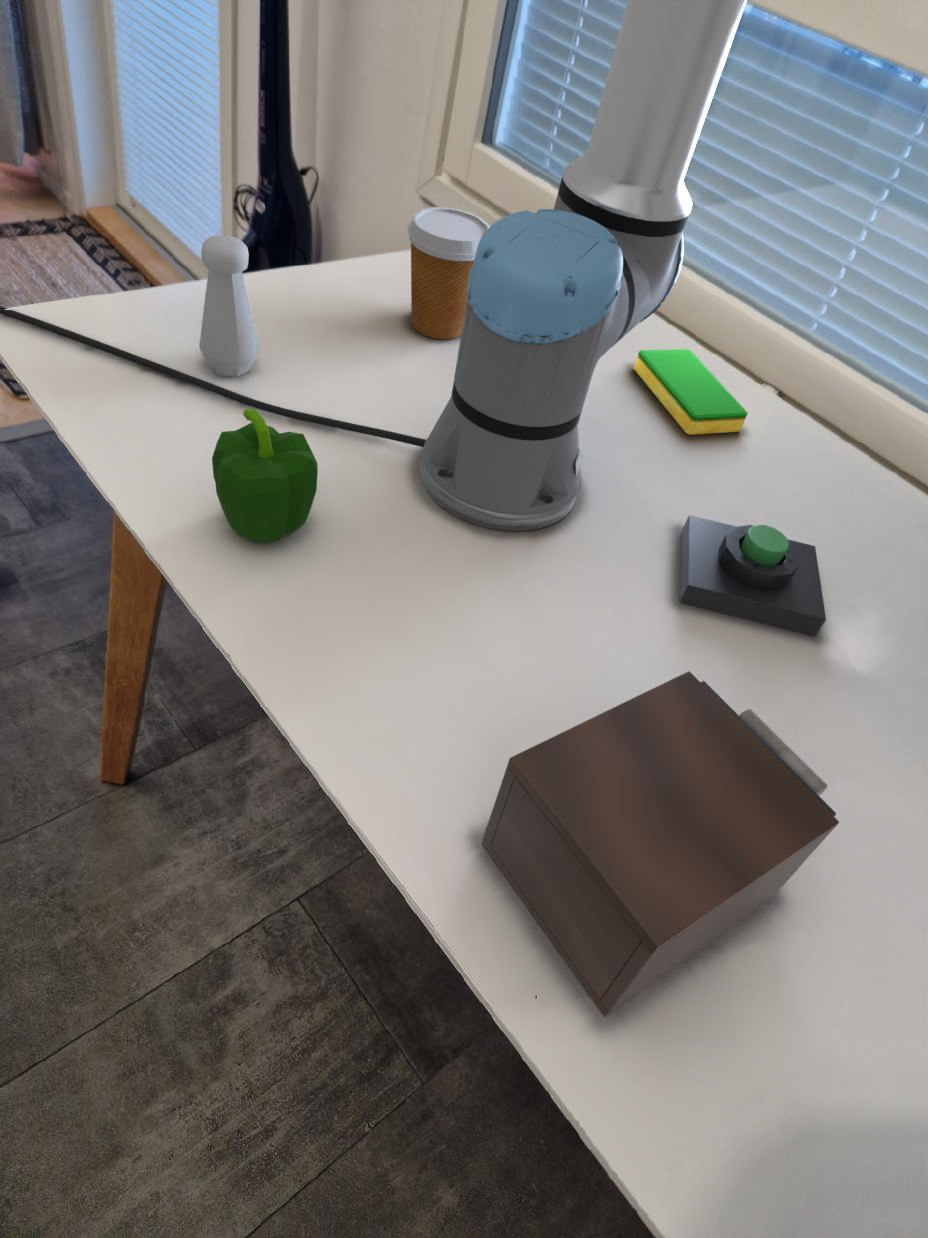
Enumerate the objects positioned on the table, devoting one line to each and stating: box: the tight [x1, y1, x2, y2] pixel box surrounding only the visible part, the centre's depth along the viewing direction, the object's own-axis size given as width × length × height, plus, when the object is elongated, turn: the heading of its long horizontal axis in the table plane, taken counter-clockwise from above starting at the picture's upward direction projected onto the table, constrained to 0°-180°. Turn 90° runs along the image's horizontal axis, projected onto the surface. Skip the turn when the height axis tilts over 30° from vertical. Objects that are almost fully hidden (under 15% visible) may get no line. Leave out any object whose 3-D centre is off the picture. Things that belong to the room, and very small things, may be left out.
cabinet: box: [481, 670, 840, 1018], centre depth 53 cm, size 15×13×10 cm
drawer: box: [700, 680, 837, 818], centre depth 54 cm, size 18×11×8 cm, turn 124°
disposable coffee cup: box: [407, 206, 491, 340], centre depth 98 cm, size 10×10×12 cm
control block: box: [679, 514, 827, 638], centre depth 77 cm, size 12×10×4 cm
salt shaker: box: [198, 234, 259, 378], centre depth 85 cm, size 6×6×13 cm
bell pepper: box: [211, 407, 319, 544], centre depth 70 cm, size 8×8×10 cm
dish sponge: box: [633, 348, 749, 436], centre depth 99 cm, size 7×14×2 cm, turn 18°
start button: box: [741, 524, 789, 566], centre depth 75 cm, size 4×4×2 cm
